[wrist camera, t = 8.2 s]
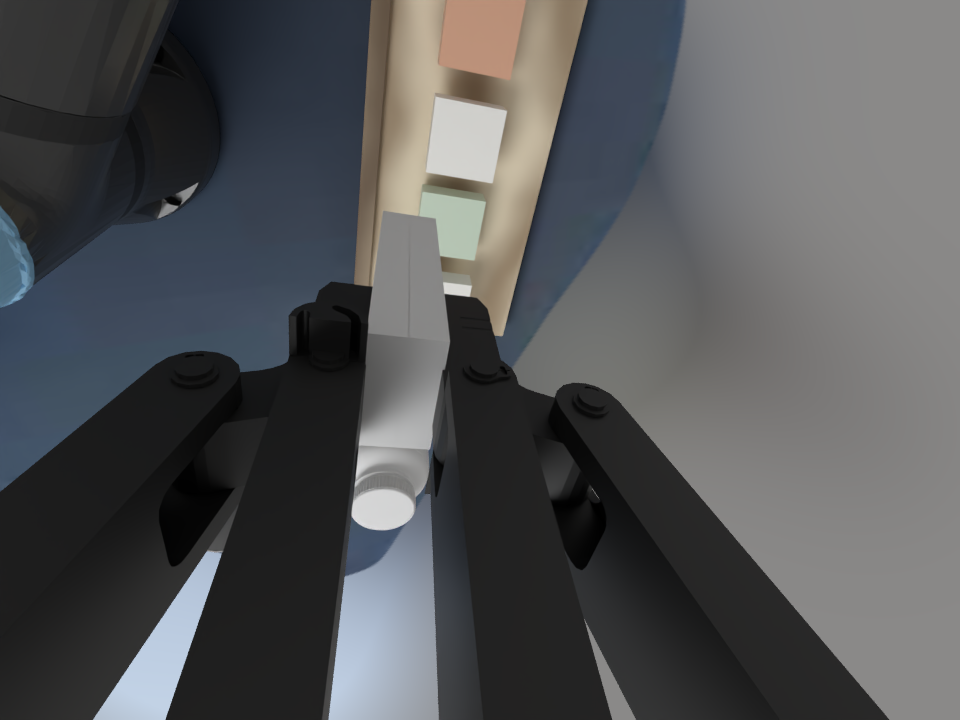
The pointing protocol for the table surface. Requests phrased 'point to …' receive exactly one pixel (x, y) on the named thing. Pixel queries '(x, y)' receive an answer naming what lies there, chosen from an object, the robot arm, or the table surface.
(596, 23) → the table surface
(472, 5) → the key terracotta
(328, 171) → the table surface
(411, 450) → the pill bottle
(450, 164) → the white key
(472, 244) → the key sage
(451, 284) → the white key
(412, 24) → the keypad board
